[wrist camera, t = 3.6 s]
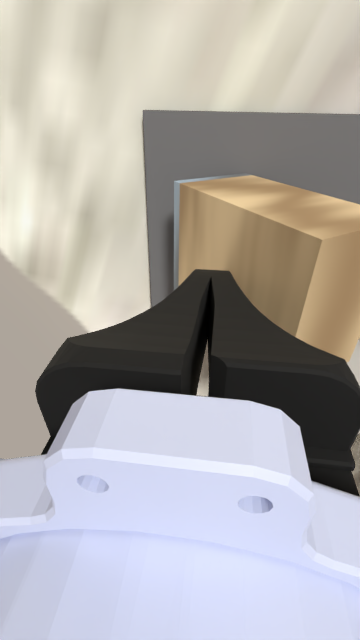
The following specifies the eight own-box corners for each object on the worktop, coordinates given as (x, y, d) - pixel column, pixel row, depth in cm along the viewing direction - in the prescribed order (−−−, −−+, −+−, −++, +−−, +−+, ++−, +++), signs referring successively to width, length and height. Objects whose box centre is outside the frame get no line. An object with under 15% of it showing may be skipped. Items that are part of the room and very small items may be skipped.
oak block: (245, 173, 16) (409, 218, 10) (232, 281, 19) (349, 361, 13) (174, 180, 14) (322, 240, 8) (173, 298, 17) (278, 396, 12)
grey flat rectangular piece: (490, 116, 14) (497, 117, 13) (390, 326, 20) (392, 330, 20) (144, 110, 15) (142, 110, 15) (152, 307, 21) (151, 310, 21)
